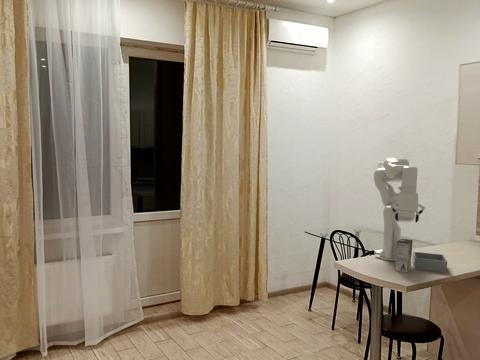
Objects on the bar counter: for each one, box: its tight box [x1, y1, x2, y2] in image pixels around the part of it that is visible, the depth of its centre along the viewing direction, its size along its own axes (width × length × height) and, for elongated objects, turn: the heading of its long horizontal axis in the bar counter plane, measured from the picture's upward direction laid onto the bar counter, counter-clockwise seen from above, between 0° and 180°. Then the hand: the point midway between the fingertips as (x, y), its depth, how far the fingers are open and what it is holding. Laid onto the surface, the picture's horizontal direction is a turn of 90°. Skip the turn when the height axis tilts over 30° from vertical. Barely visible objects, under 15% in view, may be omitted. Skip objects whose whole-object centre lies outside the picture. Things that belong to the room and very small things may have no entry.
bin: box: [411, 251, 448, 274], centre depth 245 cm, size 16×16×6 cm
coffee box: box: [395, 238, 414, 273], centre depth 237 cm, size 9×6×16 cm
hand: (406, 221), depth 236 cm, fingers open, 9 cm apart
